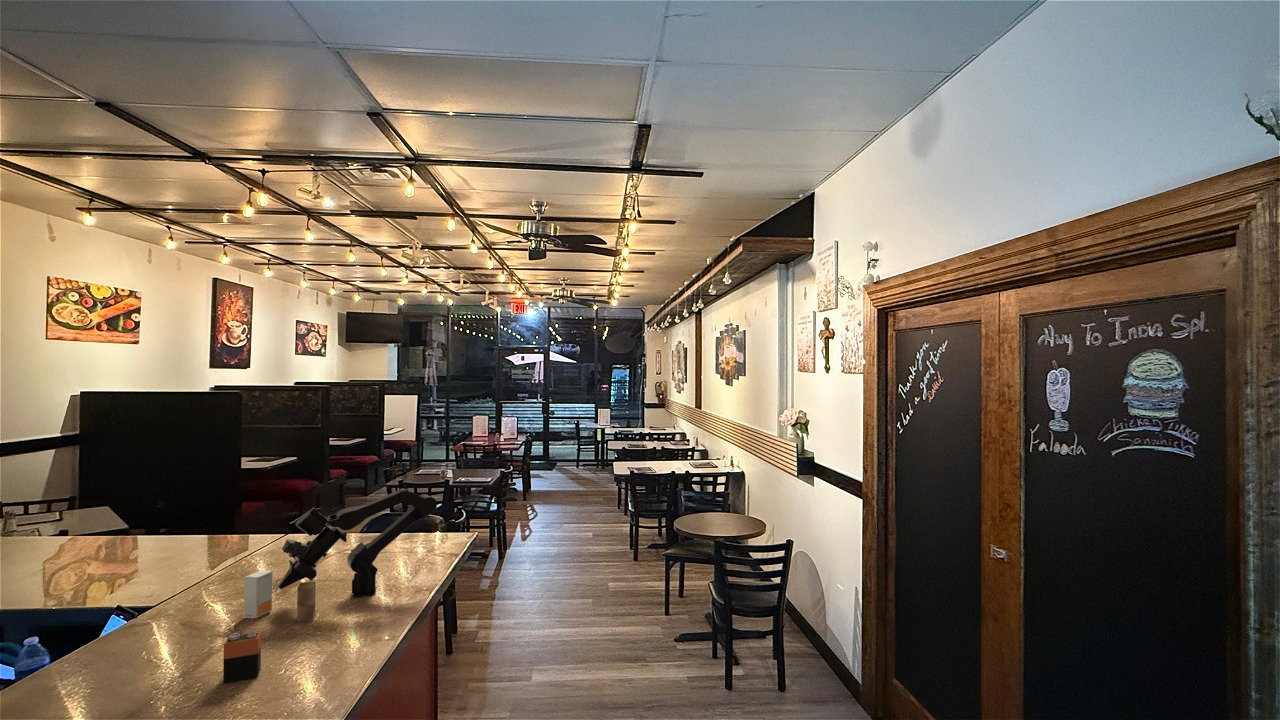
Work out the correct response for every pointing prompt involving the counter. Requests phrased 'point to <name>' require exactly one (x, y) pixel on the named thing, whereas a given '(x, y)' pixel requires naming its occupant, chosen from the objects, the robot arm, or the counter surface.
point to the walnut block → (306, 602)
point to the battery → (242, 657)
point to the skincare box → (258, 594)
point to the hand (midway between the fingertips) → (279, 587)
